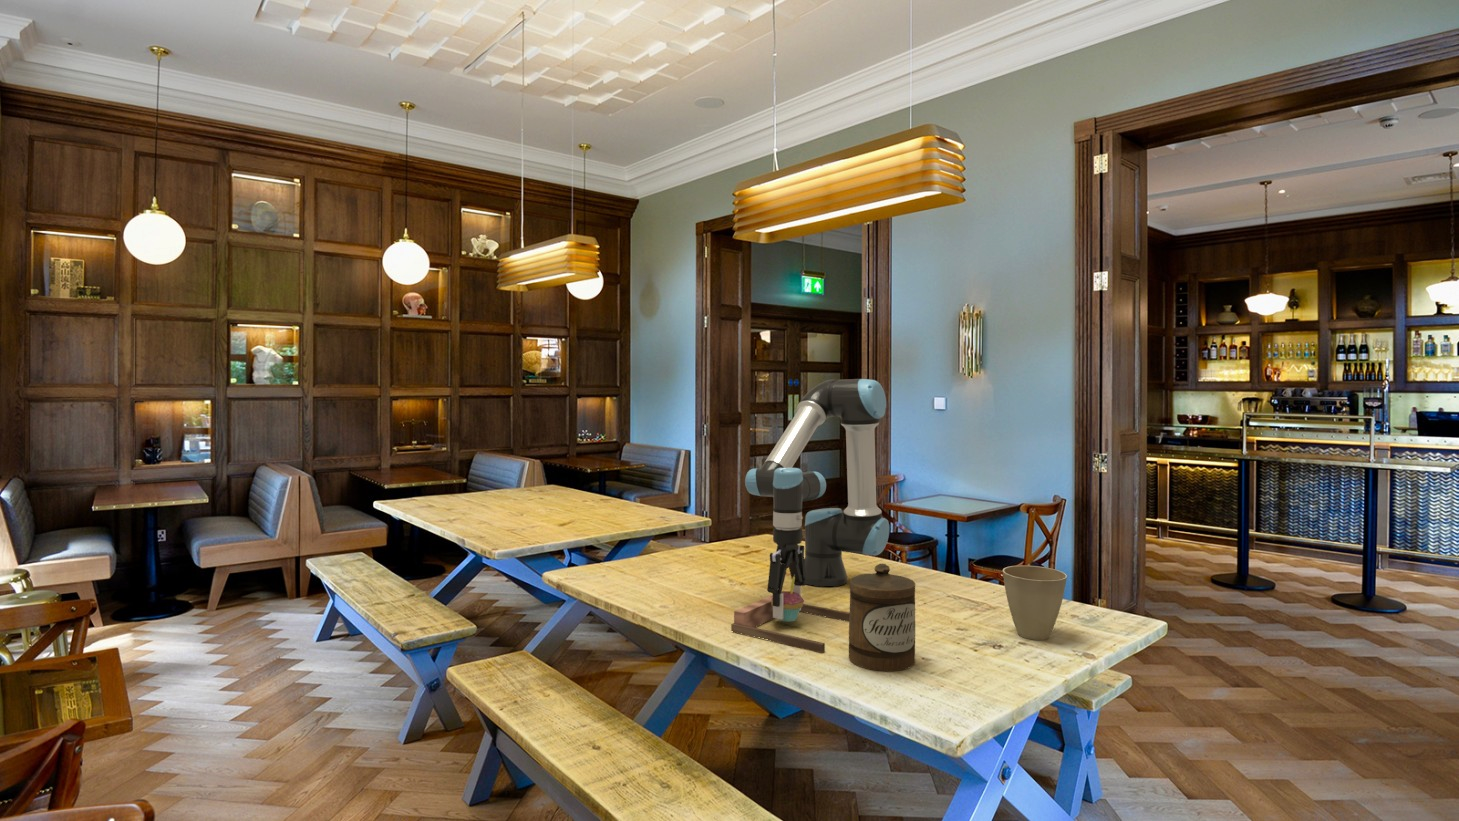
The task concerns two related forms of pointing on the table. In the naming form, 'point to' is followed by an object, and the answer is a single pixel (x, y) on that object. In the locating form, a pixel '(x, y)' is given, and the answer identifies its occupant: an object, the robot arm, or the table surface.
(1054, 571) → the plant pot
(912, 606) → the wooden container
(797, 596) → the cupcake
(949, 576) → the table surface
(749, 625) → the brown wooden open frame
